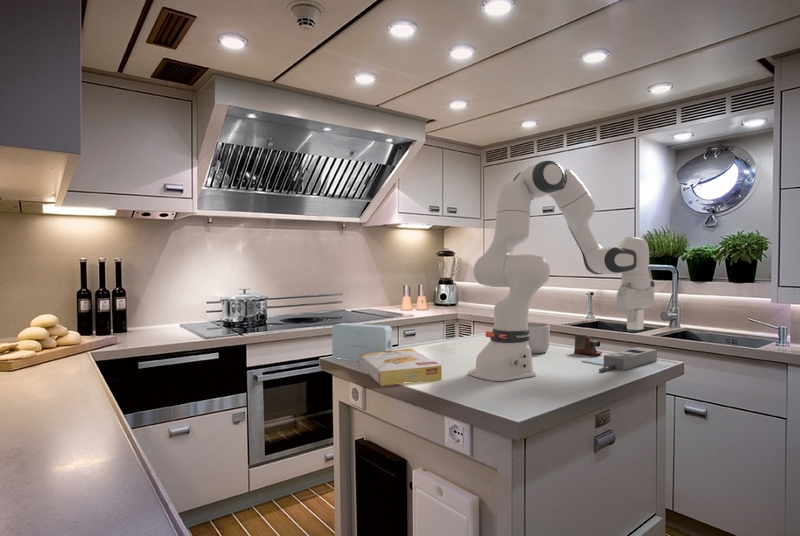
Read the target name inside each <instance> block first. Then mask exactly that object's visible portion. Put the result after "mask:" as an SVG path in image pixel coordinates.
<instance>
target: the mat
mask: <svg viewBox="0 0 800 536" xmlns="http://www.w3.org/2000/svg"><path fill="white" fill-rule="evenodd" d="M581 362H582V363H587V364H592V365H599V366H604V358H599V357H592V358H591V357H590V358H586V359H584V360H581Z"/></svg>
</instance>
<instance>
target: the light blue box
mask: <svg viewBox="0 0 800 536" xmlns="http://www.w3.org/2000/svg"><path fill="white" fill-rule="evenodd" d="M331 335H332V336H331V341H332V343H331V346H332V348H331V349H332V351H331V352H332V353H331V354H332V358H333V357H336V358H341V359H348V360H347V361H350V360H358V361H357V362H360V359H359V355H360V354H363V353H373V352H383V351H393V329H392V327H391V326H390V325H385V324H383V325H382V324H366V323H365V324H364V323H362V324H361V323H350V322H349V323H346V322H341V323H337V324H334V325H332V328H331Z"/></svg>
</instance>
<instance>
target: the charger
mask: <svg viewBox="0 0 800 536" xmlns="http://www.w3.org/2000/svg"><path fill="white" fill-rule="evenodd" d="M644 314H645V308H644V309H634V313H633V316H634V317H635V322H628V317H627V316H626V329H627V330H632V331H633V330H634V331H635V330H636V331H640V330H641V331H642V330H644V325H645V324H644V323H645V322H644V321H645V319H644Z"/></svg>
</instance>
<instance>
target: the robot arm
mask: <svg viewBox="0 0 800 536" xmlns="http://www.w3.org/2000/svg"><path fill="white" fill-rule="evenodd" d="M586 187H587V186H585V184H584V183H583V182H582V180H581V179H580V178H579V177H578V176H577V175H576V174H575V173H574V172H573V171H572V170H570V169H567V168H563V167H562V166H561V165H560V164H559V163H557V162H556V161H554V160H544V161H543V160H542V161H540V162H538V163H536V164H534V165H531V166H528V167H527V168H526V169H524V170H522V171H520V172H518V173H517V174H516V176H515V177H514V178H513V180H512V181H508V182H505V183H504V184H503V185H502V186H501V187H500V190H499V194H498V199H497V206H496V214H495V215H496V217H495V229H494V235H493V238H492V241H491V243H490V245H489V247H488V249H487V250H486V251H485V252H484V254H483V255H482V256H480V257H479V258H477V260H476V261H475V262H474V265H473V275H474V278H475V281H476V282H477V283H478V284H479V285H483V286H486V287H490V288H509V292H508V295H507V296H506V297H504V298H502V299H500V300H499V301H498V302H496V304H495V305H494V307H493V328H492V331H489V330H486V331H485V332H484V336H485V338H489V340H490V341H489V342H488V343H487V345H486V346H485V347H484V348H483V349H482V350H481V351H480V352H479V353H478V354H477V356H476V358H475V359H476V360H475V368H473V369H470V370H468V375H469V376H470V377H475V378H478V379H482V380H486V381H494V382H504V381H511V380H512V381H513V380H518V379H523V378H531V377H536V374H537V373H536V371H534V367H533V366H534V365H533V364H534V363H533V355H532V354H533V353H531V349H530V347H529V343H528V341H529V336H530V333H529V329H528V323H529V310H530V303H531V301H532V299H533V297H534V295H535V294H536V292H537V291H538V290H539V289H541V288H542V287H543V286H544V285H546V284H547V282H548V280H549V278H550V275H551V269H550V264H549V262H548V261H547V260H546V258H545V257H543V256H539V255H533V254H513V252H514V250H515V248H517V246H518V245H521V244H523V243H524V242H525V241H526V240H527V239H528V237H529V235H530V226H531V225H530V223H531V222H530V221H531V220H530V219H531V203H532V200H535V199H538V198H543V197H546V196H549V197H551V199H553V201H554V202H555V204H556V205H557V207H558V209H559V211H560V212H561V213H562V216H563V218H564V219H565V221H566V224H567V226H568V229H569V231H570V233H571V235H572V236H573V239H574V241H575V242H576V244H577V246H578V248H579V250H580V252H581V254H582V258H583V263H584V267H585V268H586V270H587V271H588V273H590V274H592V275H605V274H606V275H607V274H608V275H611V274H613V275H614V274H615V275H616V274H621V285H620V286H619V288H618V289H617V292H616V303H615V307H616V309H617V311H625V314H626V318H627V317H628V322H635V317H634V316H633V313H634V309H644V310H645V309H649V308H650V309H651V308H653V306H654V303H655V289H654V288H655V287H656V282H655V281H654V280H653V279H652V278H650V272H649V264H650V249H649V244H648V242H647V240H645V239H644V238H642V237H633V236H626V237H624V238H623V240H621V241H619V242H618V243H616V244H613V245H611V246H607V247H606V246H605V247H603V246H602V245H600V244H599V243H598V242H597V239H596V238H595V236H594V235H593V233H592V231H591V229H590V226H589V220H590V219H591V218H592V216H593V215H594V212H595V210H596V203H595V201H594V199H593V196H592V195H591V193H590V192H589V190H588V188H586Z"/></svg>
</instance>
